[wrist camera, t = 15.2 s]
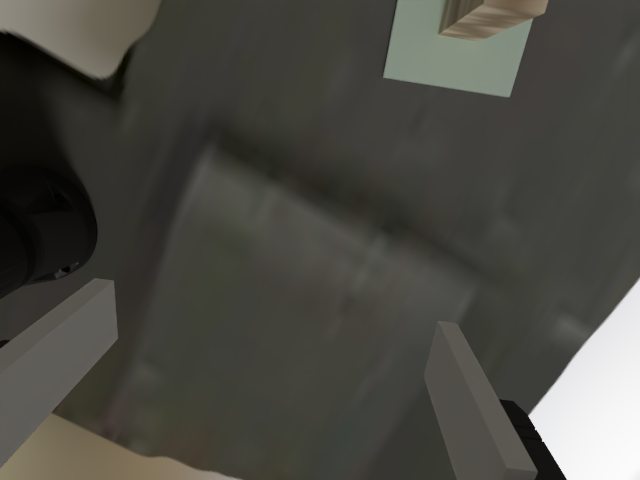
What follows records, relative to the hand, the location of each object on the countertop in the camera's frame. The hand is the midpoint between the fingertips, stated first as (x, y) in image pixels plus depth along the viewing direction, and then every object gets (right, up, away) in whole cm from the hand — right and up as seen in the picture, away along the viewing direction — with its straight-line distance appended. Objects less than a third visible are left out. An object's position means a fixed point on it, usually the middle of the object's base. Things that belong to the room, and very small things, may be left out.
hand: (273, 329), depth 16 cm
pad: (+17, +27, +25) cm, 41 cm away
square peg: (+17, +27, +24) cm, 40 cm away
